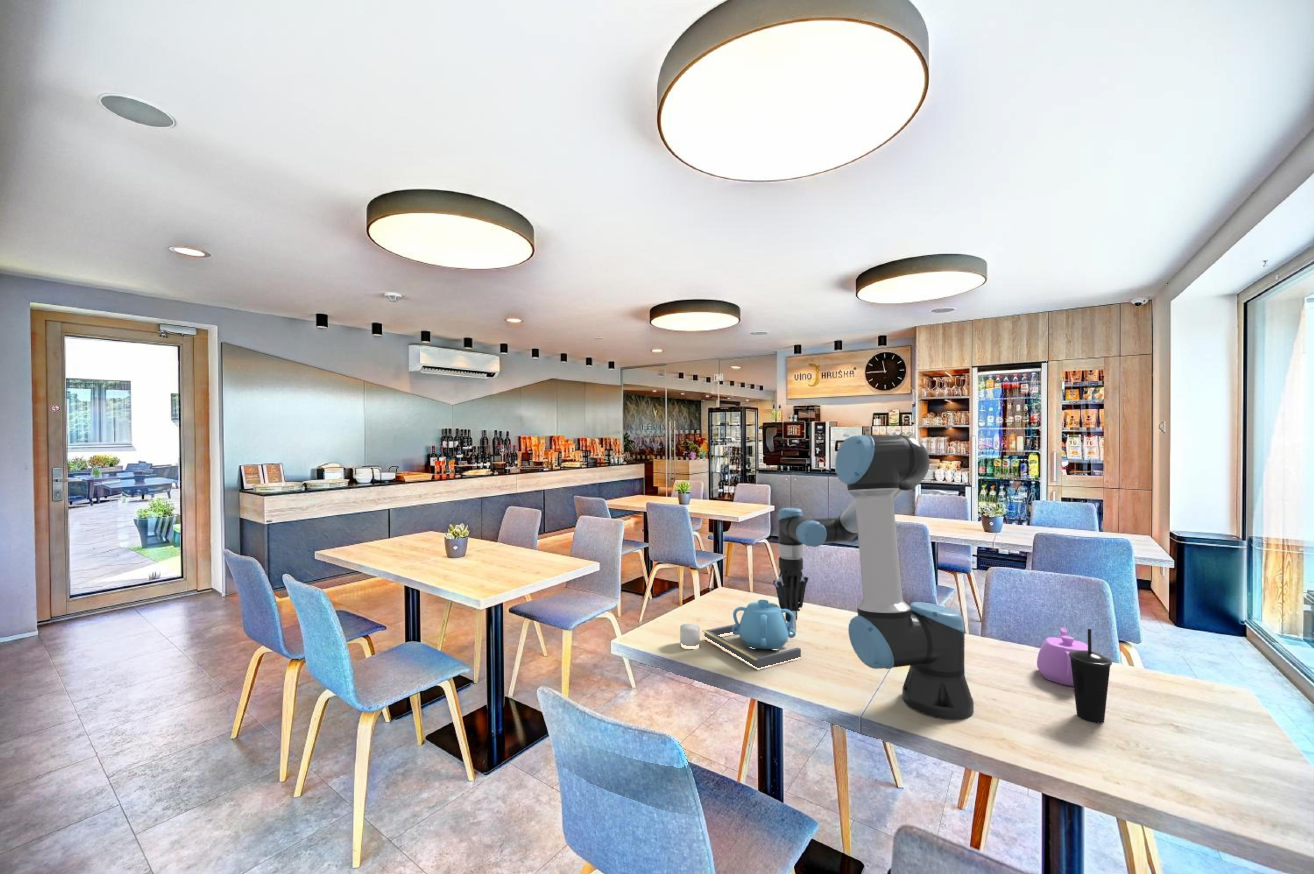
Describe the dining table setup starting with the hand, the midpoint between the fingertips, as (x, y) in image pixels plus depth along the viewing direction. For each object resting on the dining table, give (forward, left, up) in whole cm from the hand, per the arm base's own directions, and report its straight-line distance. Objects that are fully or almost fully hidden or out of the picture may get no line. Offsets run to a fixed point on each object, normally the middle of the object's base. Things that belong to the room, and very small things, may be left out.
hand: (791, 630), depth 172 cm
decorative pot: (+1, +11, -3) cm, 11 cm away
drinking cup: (-70, -25, -3) cm, 74 cm away
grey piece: (0, +16, -3) cm, 17 cm away
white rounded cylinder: (+11, +31, -3) cm, 33 cm away
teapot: (-57, -44, -3) cm, 72 cm away
